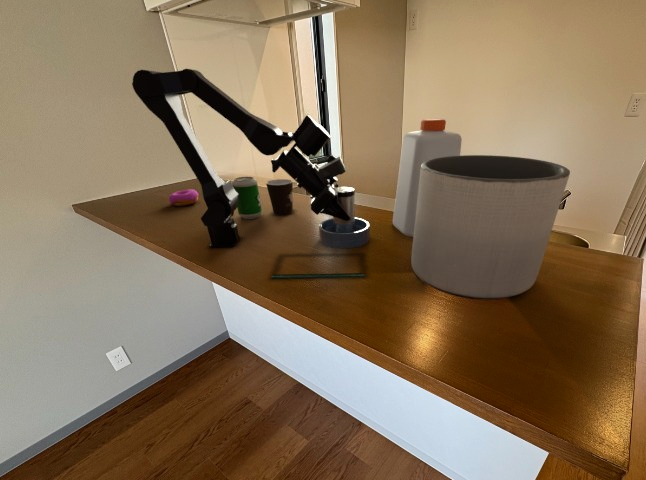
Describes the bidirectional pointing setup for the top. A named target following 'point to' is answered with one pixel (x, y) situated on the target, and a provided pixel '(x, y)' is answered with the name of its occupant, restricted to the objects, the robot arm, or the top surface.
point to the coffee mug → (281, 195)
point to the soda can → (248, 197)
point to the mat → (318, 276)
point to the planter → (484, 223)
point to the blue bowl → (344, 235)
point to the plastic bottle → (419, 167)
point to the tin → (347, 203)
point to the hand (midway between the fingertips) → (349, 215)
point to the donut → (184, 197)
